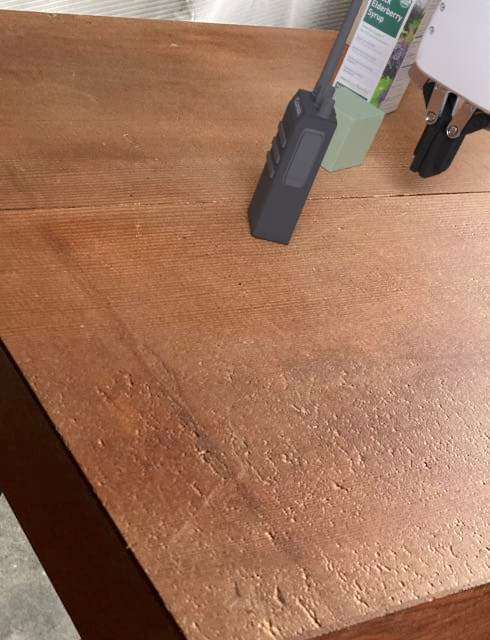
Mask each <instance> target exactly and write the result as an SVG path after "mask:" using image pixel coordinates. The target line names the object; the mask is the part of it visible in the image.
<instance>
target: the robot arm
mask: <svg viewBox="0 0 490 640" xmlns="http://www.w3.org/2000/svg"><path fill="white" fill-rule="evenodd" d="M414 59H415V62H414V63H413V64H412V66H411V67H410V69H409V71H408V76H409V78H410V79H411V80H410V81H412V82H413V84H414V85H415V86H416V87H417V88H418V89H419V90H420V91H421V92H422V96H423V100H424V105H425V106H424V107H425V113H424V117H423V118H424V122H425V123H426V124H425V127H424V129H423V131H422V134H421V135H420V137H419V140H418V142H417V143H416V145H415V147H414V151H413V154H412V155H413V156H414V157H413V159H412V161H411V163H410V166H409V168H408V169H409V170H410V171H411V172H413V173H414V174H415V173H418V176H419V178H421V179H423V180H425V179H428V178H431V177H435V176H439V175H441V174H443V173H445V172H446V171H447V170H448V169H449V168H450V167H451V165H452V163H453V161H454V159H455V158H456V155H457V153H458V152H459V150H460V147H462V144H463V142H464V140H465V138H466V136H468V135H471V134H473V133H476V132H478V131H481V130H485V131H487V132H490V0H440V1H439V3H438V5H437V7H436V9H435V11H434V13H433V14H432V16H431V18H430V20H429V22H428V25H427V27H426V29H425V31H424V33H423V35H422V37H421V40H420V42H419V44H418V47H417V50H416V53H415V58H414ZM461 99H462V100H464V101H463V102H462V105H460V107H459V108H458V105H459V103H460V100H461ZM457 109H458V110H457ZM456 111H457V112H456Z"/></svg>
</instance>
